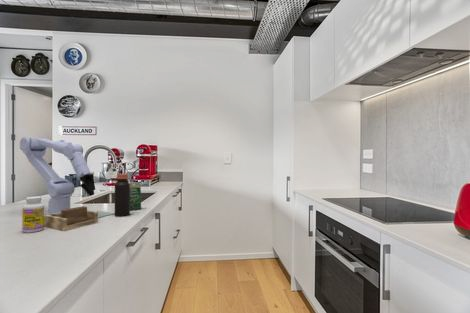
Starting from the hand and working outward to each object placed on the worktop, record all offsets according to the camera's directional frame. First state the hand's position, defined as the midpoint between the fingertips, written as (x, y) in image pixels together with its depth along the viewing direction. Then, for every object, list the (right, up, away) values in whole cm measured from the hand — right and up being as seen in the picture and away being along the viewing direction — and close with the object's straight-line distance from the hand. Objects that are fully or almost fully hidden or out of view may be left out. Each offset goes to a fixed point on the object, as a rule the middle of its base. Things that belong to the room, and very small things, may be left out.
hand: (92, 192), depth 119 cm
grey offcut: (-9, -10, -7) cm, 15 cm away
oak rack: (-5, -12, -10) cm, 16 cm away
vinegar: (+11, -12, +7) cm, 18 cm away
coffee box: (+11, -12, +19) cm, 25 cm away
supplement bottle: (-12, -12, -19) cm, 26 cm away
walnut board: (-1, -12, -11) cm, 16 cm away
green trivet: (-2, -12, +6) cm, 13 cm away
